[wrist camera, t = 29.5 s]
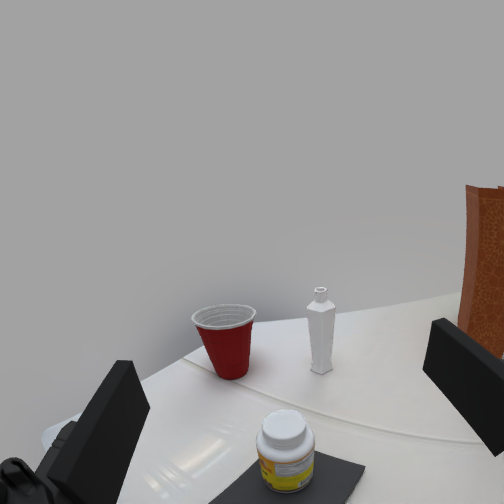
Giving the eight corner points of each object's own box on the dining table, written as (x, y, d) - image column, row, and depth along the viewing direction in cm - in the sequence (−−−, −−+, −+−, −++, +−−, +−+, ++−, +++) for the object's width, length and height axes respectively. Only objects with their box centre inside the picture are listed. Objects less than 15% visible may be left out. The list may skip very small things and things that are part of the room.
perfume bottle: (330, 377, 43) (331, 296, 40) (306, 373, 45) (303, 294, 42) (337, 362, 47) (338, 285, 44) (315, 359, 49) (313, 283, 46)
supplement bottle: (264, 459, 27) (255, 404, 25) (311, 457, 26) (312, 400, 24) (261, 495, 21) (250, 446, 19) (313, 493, 21) (318, 442, 19)
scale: (287, 577, 11) (286, 574, 10) (191, 522, 19) (183, 512, 18) (366, 471, 23) (370, 458, 22) (280, 442, 31) (278, 428, 30)
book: (457, 318, 51) (465, 184, 45) (487, 320, 46) (498, 186, 40) (454, 378, 34) (478, 187, 27) (495, 381, 29) (527, 190, 22)
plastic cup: (272, 359, 51) (266, 302, 48) (245, 394, 42) (235, 331, 39) (223, 350, 56) (214, 297, 54) (192, 379, 47) (177, 321, 44)
